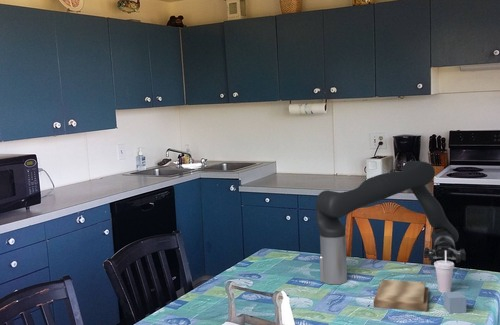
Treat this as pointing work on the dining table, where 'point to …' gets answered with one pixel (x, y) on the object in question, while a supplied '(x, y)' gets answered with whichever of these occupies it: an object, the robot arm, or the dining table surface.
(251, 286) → the dining table surface
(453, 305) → the slate cube
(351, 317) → the dining table surface
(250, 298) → the dining table surface
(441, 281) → the smoothie
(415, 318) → the dining table surface
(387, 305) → the plinth
